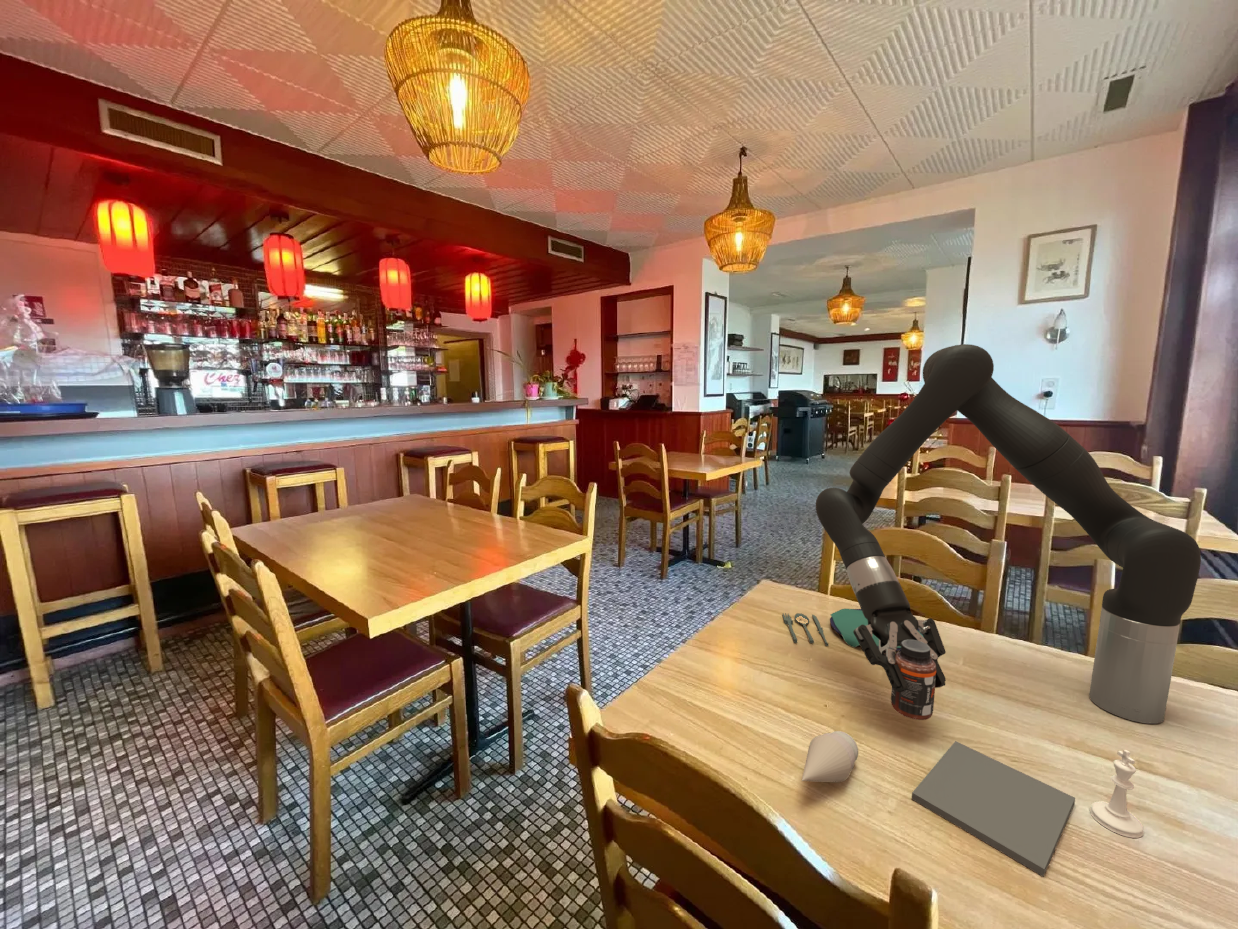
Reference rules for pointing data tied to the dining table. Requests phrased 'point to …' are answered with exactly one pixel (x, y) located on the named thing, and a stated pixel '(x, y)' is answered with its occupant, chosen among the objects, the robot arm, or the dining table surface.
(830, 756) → the ice cream cone
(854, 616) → the cutlery set
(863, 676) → the dining table surface
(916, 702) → the supplement bottle
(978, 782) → the mat
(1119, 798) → the chess piece
